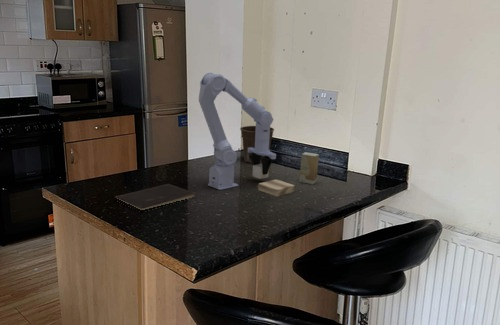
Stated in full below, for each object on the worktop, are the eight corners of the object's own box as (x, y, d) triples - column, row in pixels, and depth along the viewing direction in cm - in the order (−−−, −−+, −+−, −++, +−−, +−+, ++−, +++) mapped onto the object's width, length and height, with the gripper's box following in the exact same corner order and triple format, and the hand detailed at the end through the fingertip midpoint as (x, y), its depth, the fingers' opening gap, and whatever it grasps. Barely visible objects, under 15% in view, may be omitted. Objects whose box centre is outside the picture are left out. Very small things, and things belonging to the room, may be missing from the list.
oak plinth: (276, 197, 167) (276, 190, 166) (258, 190, 174) (258, 183, 173) (294, 192, 173) (294, 185, 172) (276, 186, 180) (276, 179, 180)
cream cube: (260, 178, 180) (260, 167, 179) (252, 176, 183) (252, 165, 182) (268, 177, 183) (268, 166, 182) (260, 174, 186) (261, 163, 185)
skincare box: (298, 182, 185) (300, 153, 182) (302, 179, 189) (304, 151, 186) (313, 184, 183) (315, 155, 180) (317, 182, 186) (319, 153, 183)
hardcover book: (195, 199, 162) (195, 192, 162) (141, 214, 146) (141, 207, 145) (167, 188, 172) (167, 183, 172) (114, 202, 156) (114, 196, 155)
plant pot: (244, 165, 208) (245, 131, 204) (235, 157, 224) (236, 125, 220) (277, 164, 213) (278, 131, 209) (266, 156, 228) (268, 125, 224)
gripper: (282, 142, 177) (280, 175, 180) (256, 136, 187) (255, 167, 191) (269, 144, 172) (267, 178, 176) (244, 137, 183) (243, 169, 186)
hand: (260, 172), depth 183 cm, fingers closed on cream cube, 5 cm apart
